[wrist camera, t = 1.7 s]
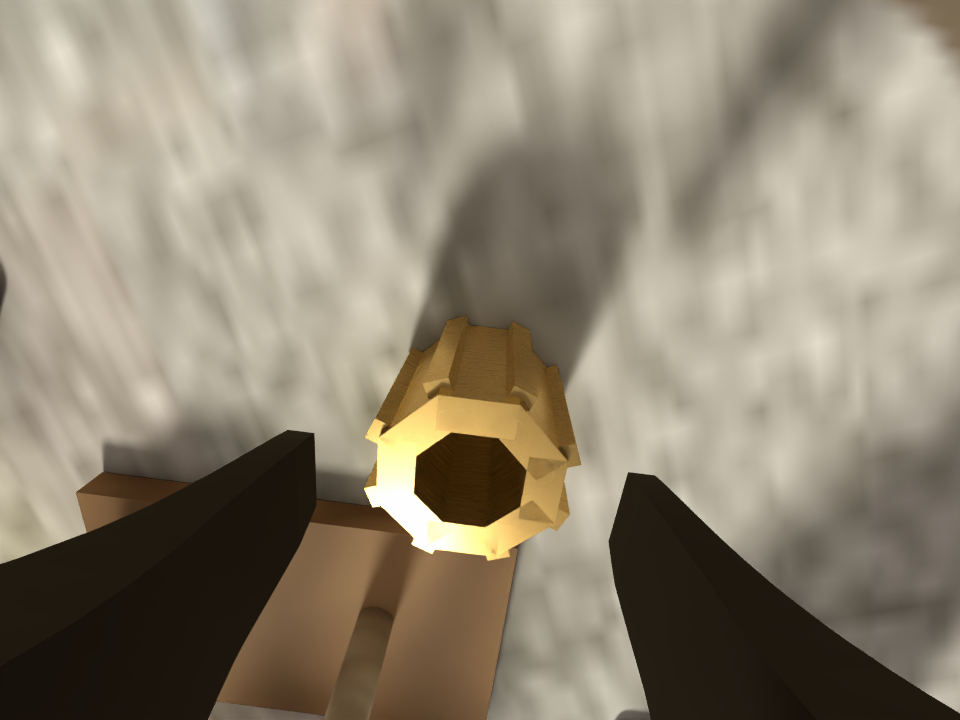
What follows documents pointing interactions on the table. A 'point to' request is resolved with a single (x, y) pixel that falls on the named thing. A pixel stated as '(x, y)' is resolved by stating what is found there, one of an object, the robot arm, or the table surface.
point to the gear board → (357, 616)
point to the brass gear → (474, 443)
